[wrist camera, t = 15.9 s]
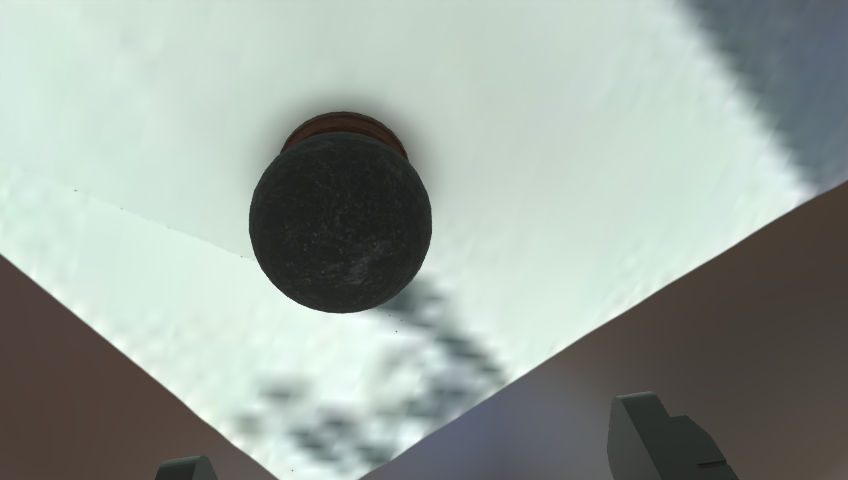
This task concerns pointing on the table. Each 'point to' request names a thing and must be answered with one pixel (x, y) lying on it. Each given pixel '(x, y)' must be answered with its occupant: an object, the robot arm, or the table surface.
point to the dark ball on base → (340, 215)
